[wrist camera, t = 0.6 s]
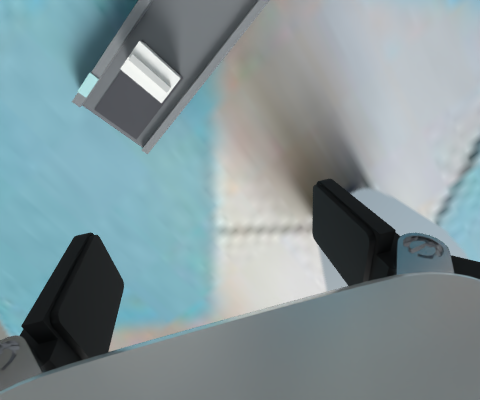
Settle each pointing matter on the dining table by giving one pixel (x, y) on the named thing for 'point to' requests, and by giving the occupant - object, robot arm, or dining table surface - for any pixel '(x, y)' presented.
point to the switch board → (172, 52)
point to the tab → (150, 71)
